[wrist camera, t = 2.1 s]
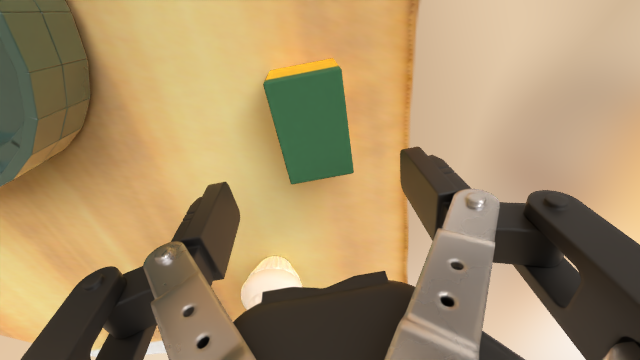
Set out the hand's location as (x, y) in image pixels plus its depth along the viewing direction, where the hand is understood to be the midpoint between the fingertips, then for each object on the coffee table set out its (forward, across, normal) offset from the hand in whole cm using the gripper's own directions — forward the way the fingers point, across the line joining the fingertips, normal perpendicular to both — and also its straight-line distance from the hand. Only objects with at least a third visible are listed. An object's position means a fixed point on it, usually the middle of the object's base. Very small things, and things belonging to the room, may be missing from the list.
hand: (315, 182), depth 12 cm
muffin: (+10, +7, +16) cm, 20 cm away
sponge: (+10, 0, 0) cm, 10 cm away
